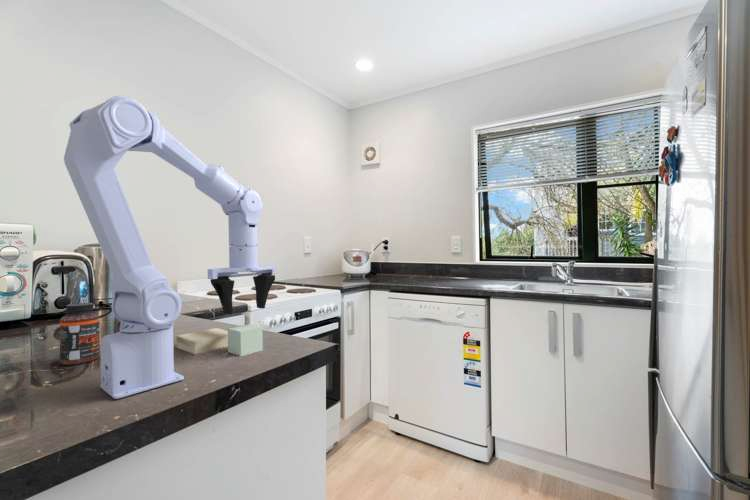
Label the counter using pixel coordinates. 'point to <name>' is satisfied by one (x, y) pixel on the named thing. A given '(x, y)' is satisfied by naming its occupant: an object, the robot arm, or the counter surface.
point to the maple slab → (203, 340)
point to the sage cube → (245, 339)
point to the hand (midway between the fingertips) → (245, 310)
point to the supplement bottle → (79, 334)
